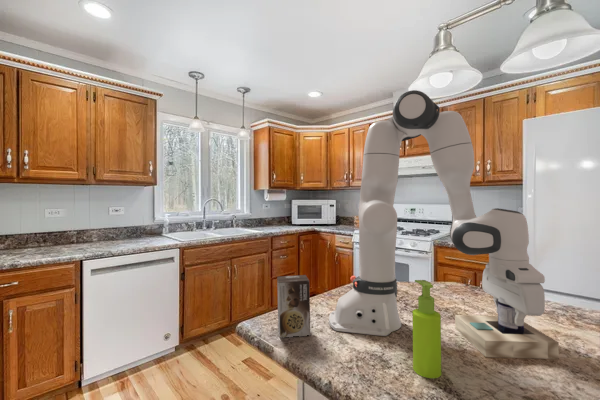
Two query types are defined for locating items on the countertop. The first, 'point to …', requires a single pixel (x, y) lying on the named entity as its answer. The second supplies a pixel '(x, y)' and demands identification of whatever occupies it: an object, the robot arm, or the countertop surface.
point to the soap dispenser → (426, 335)
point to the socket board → (505, 339)
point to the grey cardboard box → (293, 306)
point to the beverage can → (507, 319)
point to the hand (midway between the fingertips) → (509, 319)
